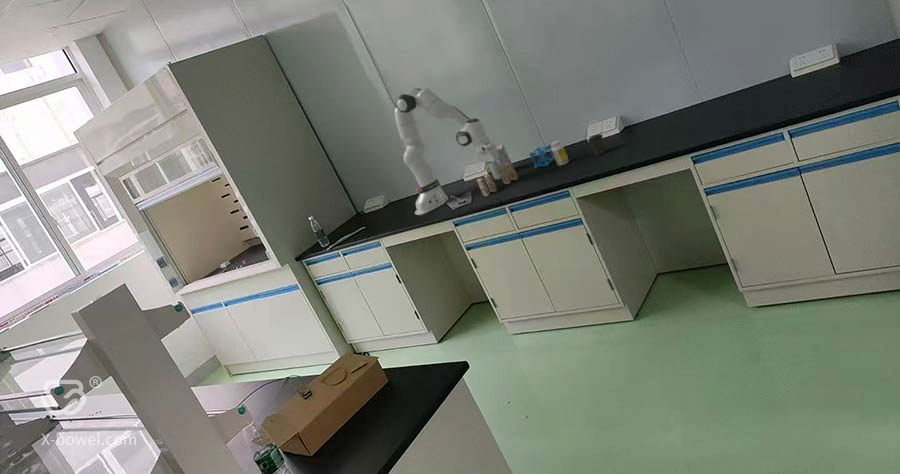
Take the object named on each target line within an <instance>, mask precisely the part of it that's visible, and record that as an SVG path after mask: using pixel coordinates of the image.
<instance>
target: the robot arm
mask: <svg viewBox="0 0 900 474" xmlns="http://www.w3.org/2000/svg"><path fill="white" fill-rule="evenodd" d="M395 106H396V107H395V109H394V116H395V124H396V126H397V130H398V133H399V137H400V139H401V141H402V142H403V143H404V144H403V145H404V146H405V148H406V150H405V151H404V154H403V162H404V164H405V165H407V166H408V167H409V169H410V171H411V172H412V173H413V175H414V177H415V179H416V181H417V183H418V185H419V187H417V188H415V191H416V192H418V193H419V195H418V198H417V199H416V201H415V208H416V210H415V211H414V215H417V216H422V215H425V214H427V213H428V212H431V211H433V210H435V209H436V208H439V207H441V206H442V205H444V204H446V202H447V201H448V200H449V197H448V196H447V195H446V194H445V192H444V190H443V189H442V186H441V184H440V181H439V180H438V178H437V177H436V174H435V173H434V171H433V168H432V167H431V166H430V165H429V164H428V162H427V161H426V159H425V156H426V154H427V148H426V145H424V141H423V140H422V137H421V136H420V133H419V131H418V126H417V123H416V120H415V116H414V111H415V110H418V109H419V108H422V109H423V110H424V111H425V112H426V113H427V114H428V115H429V116H431V118H432V119H435V120H444V119H449V120H453V121H455V122H457V123H458V124H459V126H462V128H461V129H460V130H458V132H456V136H455V140H456V142H457V143H458V145H460V146H462V147H468V146H470V145H471V144H473V145H474V147H475V150H476V151H475V153H476V157H477V159H478V161H479V163H484V164H485V165H486V166H487V168H488V169H489V170H490V168H489V166H488V163H490V162H492V163H493V168H494V169H496V168H497V169H498V166H497V165H498V164H497V162H499V159H500V156H499V154H498V151H497V149H496V147H497V146H496V143H495V142H493V141H492V140H490V138H489V137H488V136H487V132H486V129H485V127H484V125H483V123H482V122H481V120H480V119H479V118H476V117H475V118H469V117H468V116H467V115H466V114H465V113H464V112H462V111H461V110H459V109H458V108H457V107H455V106H454V105H450V104H449V103H447V102H445V101H444V100H443V99H442V98H441V97H440V96H439V95H437V94H436V93H435V92H434V91H432V90H431V89H429V88H423V89H422V88H414V89H410V90H407V91H406V92H405V93H403V94H402V93H401V95H399V96H397V98H396V101H395Z"/></svg>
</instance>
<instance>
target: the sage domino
mask: <svg viewBox="0 0 900 474" xmlns="http://www.w3.org/2000/svg"><path fill="white" fill-rule="evenodd" d="M488 166H489V168H490V169H489V168H488V169H489V170H490V172H491V176H492V178H493V179H494V180H500V179H502V177H501V175H500V172H499V170H498V167H497V168H496V169H494V168H493V163H492V162H489V163H488ZM488 166H487V167H488Z"/></svg>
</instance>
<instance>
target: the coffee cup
mask: <svg viewBox="0 0 900 474" xmlns="http://www.w3.org/2000/svg"><path fill="white" fill-rule="evenodd" d="M587 142H589V144H590V146H591V148H592V150H593V152H594V154H595V156H596V155H598V156H600V155H599V154H601V155H603V154H602V153H603V152H605V151H606V147H605V144H604V143H605V142H604V139H603V135H602V134H601V133H600V134H595V135H593V136H591V137H590V138H588V139H587ZM605 153H606V152H605Z"/></svg>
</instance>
